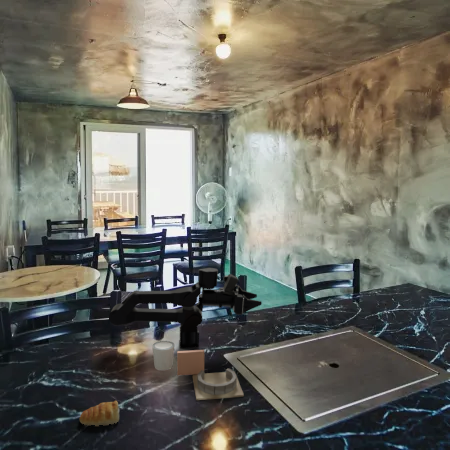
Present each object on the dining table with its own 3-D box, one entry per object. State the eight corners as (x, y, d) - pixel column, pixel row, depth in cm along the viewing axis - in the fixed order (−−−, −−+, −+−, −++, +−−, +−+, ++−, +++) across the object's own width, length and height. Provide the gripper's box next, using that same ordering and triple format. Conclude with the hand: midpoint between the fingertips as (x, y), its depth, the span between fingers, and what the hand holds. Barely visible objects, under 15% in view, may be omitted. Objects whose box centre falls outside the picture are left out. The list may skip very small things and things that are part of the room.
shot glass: (178, 363, 122) (178, 342, 121) (166, 373, 116) (166, 351, 115) (160, 359, 125) (160, 338, 124) (148, 368, 119) (148, 347, 118)
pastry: (79, 432, 89) (78, 416, 88) (80, 415, 95) (79, 401, 95) (120, 424, 92) (120, 409, 91) (119, 408, 98) (118, 394, 98)
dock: (196, 400, 102) (196, 389, 101) (192, 375, 115) (192, 366, 114) (243, 396, 104) (243, 386, 104) (234, 372, 117) (234, 363, 116)
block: (177, 375, 113) (177, 353, 112) (177, 373, 114) (177, 351, 114) (204, 373, 114) (204, 351, 114) (203, 371, 116) (203, 349, 115)
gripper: (219, 281, 126) (266, 283, 127) (215, 270, 144) (256, 272, 146) (217, 314, 127) (263, 316, 128) (213, 298, 145) (254, 300, 147)
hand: (259, 299), depth 137 cm, fingers open, 9 cm apart
